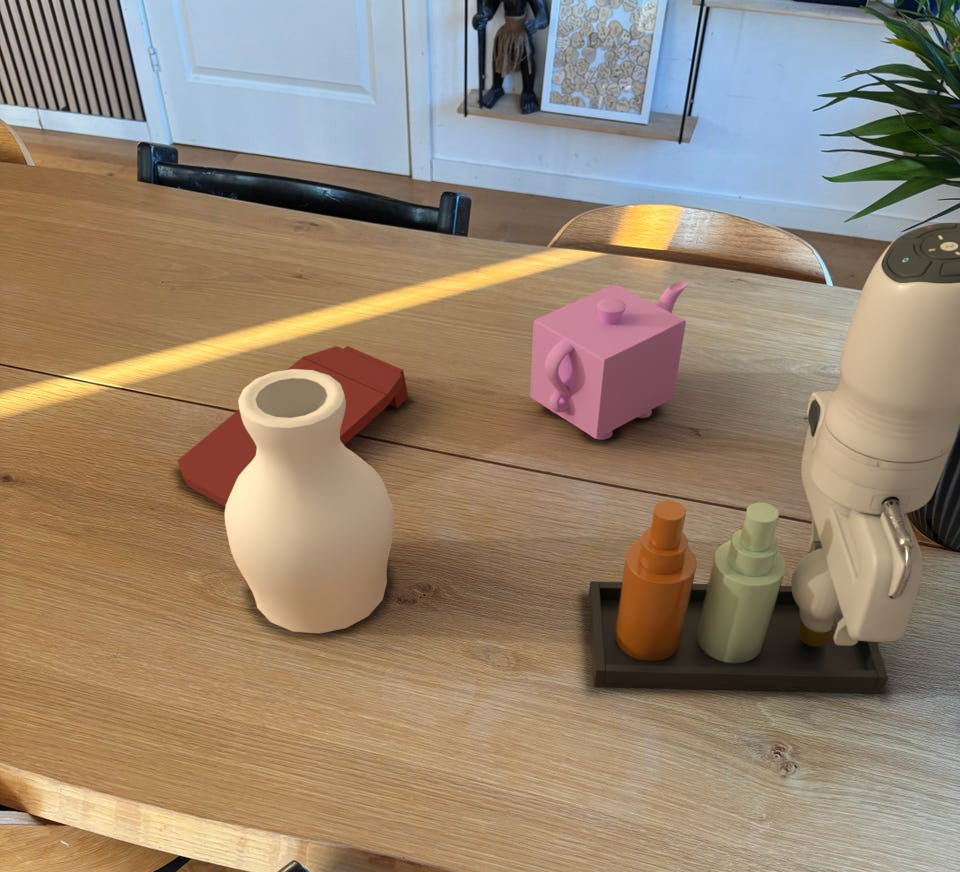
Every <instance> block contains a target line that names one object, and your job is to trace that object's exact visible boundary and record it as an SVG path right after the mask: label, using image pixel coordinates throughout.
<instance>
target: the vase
mask: <svg viewBox="0 0 960 872" xmlns="http://www.w3.org/2000/svg"><path fill="white" fill-rule="evenodd" d="M237 400H238V410H239V409H240V414H241V418H242V421H243V424H244V426H245V428H246V430H247V431H248V433H249V434H250V436H251V437H252V439H253V440H254V442H255V444H256V447H257V450H256V456H255V457H254V459H253V460H252V461H251V462H250V464H249V465H248V466H247V467H246V468H245V469H244V470H243V471H242V473H241V474H240V475H239V476H238V478H237V480H236V482H235V485H234V487H233V489H232V492H231V494H230V496H229V499H228V501H227V503H226V507H224V508H225V509H224V526H225V530H226V536H227V540H228V545H229V549H230V553H231V555H232V558H233V561H234V563H235V564H236V566H237V569H238V571H240V574H241V575H242V576H243V579H244V580H245V581H246V584H247V586H248V588H249V589H250V591H251V592H252V595H253V598H254V600H255V605H256V608H257V609H258V610H259V612H261V614H263V616H264V617H265V618H266V619H267V620H268V621H269V622H270V623H271V624H274V625H277V626H279V627H281V628H283V629H286V630H288V631H290V632H294V633H307V634H324V633H329V632H334V631H338V630H344V629H348V628H349V627H351V626H353V625H354V624H356V623H358V622H360V621H362V620H364V619H365V618H367V617H370V615H371V614H372V613H373V612H374V610H375V609H376V608H377V607H379V605H380V603H382V601H383V600H384V595H385V591H386V587H387V583H388V578H387V570H388V562H389V557H390V552H391V548H392V544H393V538H394V533H395V523H396V519H395V511H394V507H393V503H392V500H391V497H390V495H389V492H388V490H387V487H386V485H385V482H384V480H383V479H382V477H381V475H380V474H379V473H378V471H376V469H375V468H373V466H371V465H370V464H369V463H367V462H366V461H365V460H364V459H363V458H361V456H359V455H358V454H356V453H355V452H353V451H352V450H350V448H347V447H346V445H343V443H342V442H341V441H340V429H341V424H342V421H343V417H344V414H345V408H346V400H345V395H344V392H343V389H342V387H341V384H340V383H339V382H337V381H336V380H335V379H333V378H332V377H331V376H329V375H326V374H323V373H320V372H317V371H314V370H300V369H290V370H287V369H285V370H279V371H278V370H277V371H272V372H269V373H268V374H265V375H262V376H260V377H257V378H255V379H254V380H253V381H251V382H250V383H249V384H248V385H246V386H245V387H244V388H243V389H242V391H241V393H240V395H239V397H238V399H237Z"/></svg>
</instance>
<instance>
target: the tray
mask: <svg viewBox="0 0 960 872" xmlns="http://www.w3.org/2000/svg"><path fill="white" fill-rule="evenodd" d="M707 586H708V583H693V586H692V591H691V595H690V600H689V605H688V609H687V614H686V619H685V624H684V628H683V633H682V638H681V642H680V646H679V648H678V650H677V651H676V652H675V653H674V654H673V655H672V656H670V657H668V658H666V659H663V660H660V661H643V660H639V659H636V658H633V657H631V656H629V655H628V654H626V653H625V652H624V651H622V650H621V649H620V647H619V646H618V644H617V642H616V639H615V629H616V622H617V615H618V608H619V601H620V594H621V587H622V581H590V582H589V589H588V597H587V598H588V612H589V615H588V616H589V630H590V631H589V632H590V646H591V647H590V648H591V661H592V662H591V663H592V676H593V677H592V678H593V679H592V680H593V687H595V688H596V687H597V688H598V687H599V688H636V689H640V688H641V689H676V690H677V689H679V690H680V689H681V690H716V691H717V690H719V691H720V690H721V691H723V690H724V691H725V690H726V691H762V692H763V691H764V692H770V691H771V692H804V693H807V692H808V693H809V692H810V693H848V694H849V693H850V694H851V693H852V694H857V693H858V694H882V693H883V691H884V689H885V687H886V684H887V682H888V679H889V675H888V672H887V669H886V666H885V663H884V659H883V657H882V654H881V651H880V648H879V645H878V642H868V641H858V642H857V643H856V644H855V645H852V646H845V645H836V644H835V642H834V639H833V634H832V635H831V637H830V639H829V641H828V643H827V644H825V645H823V646H819V647H814V646H810V645H807V644H805V643H804V642H802V641H801V639H800V638H799V636H798V630H799V625H800V621H801V617H800V608H799V606H798V605H797V603H796V602H795V600H794V597H793V594H792V589H791V585H781V587H780V591H779V594H778V597H777V601H776V604H775V607H774V611H773V614H772V617H771V621H770V624H769V627H768V631H767V634H766V637H765V641H764V644H763V647H762V650H761V652H760V653H759V654H758V655H757V656H756V657H755V658H754V659H752V660H750V661H747V662H743V663H727V662H723V661H720V660H717V659H715V658H713V657H711V656H709V655H708V654H707V653H706V652H705V651H703V649H702V648H701V647H700V645H699V643H698V640H697V630H698V625H699V621H700V616H701V612H702V608H703V603H704V599H705V594H706V590H707Z"/></svg>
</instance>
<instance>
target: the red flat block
mask: <svg viewBox="0 0 960 872" xmlns="http://www.w3.org/2000/svg"><path fill="white" fill-rule="evenodd" d="M290 369H300V370H314V371H317V372H320V373H323V374H326V375H329V376H331V377H332V378H333V379H335V380H336V381H337V382H339V383H340V384H341V387H342V389H343V392H344V395H345V400H346V408H345V414H344V417H343V421H342V424H341V429H340V441H341V442H342V443H343V445H344V446H346V445H347V443H348V442H350V441H351V440H352V439H353V438H354V437H355V436H356V435H358V433H359V432H361V431H362V430H363V429H364V428H365V427H366V426H367V425H369V424H370V423H371V422H372V421H373V420H374V419H375V418H376V417H377V416H379V414H380V413H382V412H383V411H384V410H385V409H386V408H387V407H389V406H391V407H393V408H395V409H398V408H400V407H401V406H402V404H404V403H405V402H406V401H407V400H408V399H409V392H408V387H407V383H406V377H405V372H404V369H402V368H401V367H398V366H395V365H394V364H391V363H389V362H386V361H384V360H381V359H379V358H376V357H374V356H372V355H370V354H368V353H365V352H364V351H361V350H358V349H356V348H354V347H352V346H349V345H346V346H345V347H344V348H342V347H340V346H337V345H335V346H333V347H328V348H327V349H323V350H320V351H317V352H314V353H310V354H307V355H304V356H302V357H301V358H299V359H298V360H297V361H296V362H295V363H293V364H292V365H291V366H289V367H288V368H287V369H286V370H290ZM256 450H257V447H256V444H255V442H254V440H253V439H252V437H251V436H250V434H249V433H248V431H247V430H246V428H245V426H244V424H243V421H242V418H241V414H240V409H239V408H238V409H237V410H236V411H235V412H234V413H232V415H230V416H229V417H228V418H227V419H225V420H224V421H223V422H222V423H220V424H219V425H218V426H217V427H216V428H214V429H213V430H212V431H211V432H210V433H209V434H207V435H206V436H205V437H204V438H202V439H201V440H200V441H199V442H198V443H197V444H195V445H194V446H192V448H191V449H189V450H188V451H186V452H185V453H184V454H183V455H182V456H180V457H179V458H178V459H177V464H178V466H179V469H180V471H181V474H182V477H183V480H184V483H185V484H186V486H187V487H188V488H190V489H192V490H193V491H195V492H197V493H199V494H201V495H203V496H204V497H206V498H208V499H210V500H212V501H213V502H215V503H217V504H219V505H221V506H222V507H224V508H226V503H227V501H228V499H229V496H230V494H231V492H232V489H233V487H234V485H235V482H236V480H237V478H238V476H239V475H240V474H241V473H242V471H243V470H244V469H245V468H246V467H247V466H248V465H249V464H250V462H251V461H252V460H253V459H254V457H255V456H256Z"/></svg>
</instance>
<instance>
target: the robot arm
mask: <svg viewBox="0 0 960 872" xmlns="http://www.w3.org/2000/svg"><path fill="white" fill-rule="evenodd" d="M840 352H841V353H840V356H839V369H838V370H839V382H838V385H837V387H836V390H827V391H826V390H824V391H823V390H822V391H813V392H812V393H811V395H810V396H809V401H808V404H807V409H806V415H807V420H808V426H807V431H806V435H805V441H804V446H803V451H802V456H801V466H800V467H801V468H800V473H801V474H800V476H801V483H802V485H803V489H804V492H805V496H806V498H807V502H808V505H809V509H810V512H811V526H810V527H811V529H810V530H811V531H810V532H811V533H810V534H811V535H810V536H811V537H810V541H809V543H808V547H807V551H808V554H809V553H811V552H812V551H815V550H817V549H820V548H823V552H824V555H825V558H826V562H827V565H828V568H829V571H830V575H831V578H832V581H833V585H834V588H835V591H836V595H837V598H838V601H839V604H840V608H841V611H842V614H843V617H835V619H834V621H833V626H832V627H831V630H832V634H833V639H834V642H835V644H836V645H845V646H852V645H855V644H856V643H857V642H858V641H868V642H877V643H883V642H894V641H897V640H900V639H901V638H902V637H903V636H904V634H905V632H906V630H907V628H908V625H909V622H910V620H911V616H912V615H913V614H912V613H913V611H914V607H915V605H916V602H917V597H918V595H919V591H920V587H921V584H922V578H923V570H924V559H923V554H922V551H921V547H920V545H919V542H918V540H917V538H916V535H915V533H914V530H913V528H912V525H911V522H910V520H909V517H908V515H907V514H908V513H909V514H910V513H912V512H915V511H917V510H919V509H921V508H922V507H924V506H925V505H927V504H928V503H929V502H930V501H931V499H932V497H933V496H934V494H935V491H936V490H937V489H936V488H937V486H938V483H939V481H940V479H941V477H942V473H943V471H944V468H945V466H946V463H947V461H948V458H949V456H950V453H951V451H952V448H953V447H954V443H955V441H956V438H957V435H958V431H959V428H960V222H941V223H939V222H938V223H935V224H929V225H925V226H922V227H918V228H913V229H911V230H910V231H907V232H905V233H903V234H901V235H900V236H898V237H897V238H896V239H894V240H893V241H892V242H891V243H890V244H889V245H888V246H887V248H886V249H885V250H884V251H883V253H882V254H881V255H880V257H879V258H878V259H877V261H876V262H875V264H874V265H873V268H872V269H871V271H870V273H869V275H868V277H867V278H866V281H865V283H864V285H863V288H862V291H861V292H860V294H859V297H858V299H857V302H856V305H855V308H854V310H853V314H852V317H851V319H850V322H849V326H848V330H847V333H846V335H845V339H844V343H843V346H842V349H841V351H840Z"/></svg>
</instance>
